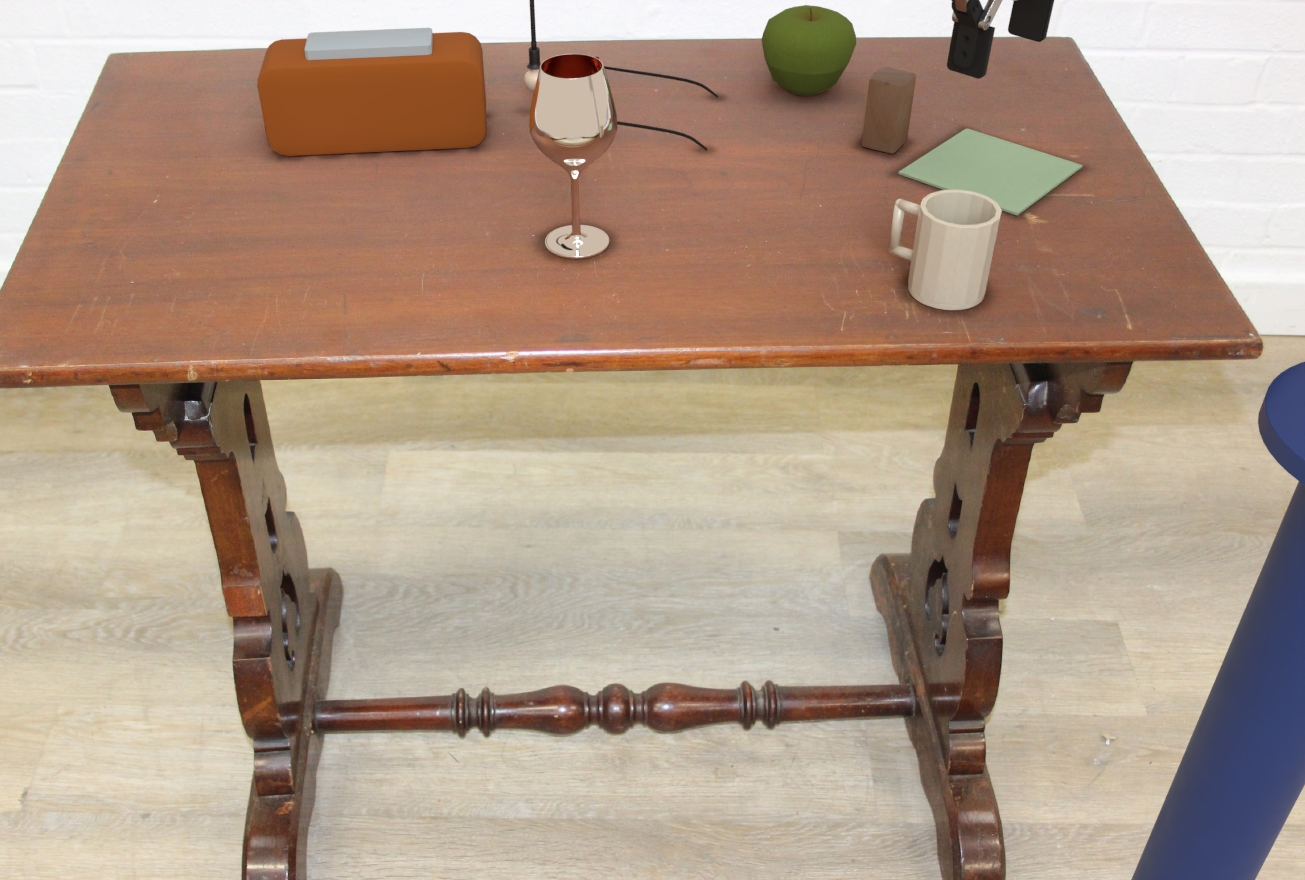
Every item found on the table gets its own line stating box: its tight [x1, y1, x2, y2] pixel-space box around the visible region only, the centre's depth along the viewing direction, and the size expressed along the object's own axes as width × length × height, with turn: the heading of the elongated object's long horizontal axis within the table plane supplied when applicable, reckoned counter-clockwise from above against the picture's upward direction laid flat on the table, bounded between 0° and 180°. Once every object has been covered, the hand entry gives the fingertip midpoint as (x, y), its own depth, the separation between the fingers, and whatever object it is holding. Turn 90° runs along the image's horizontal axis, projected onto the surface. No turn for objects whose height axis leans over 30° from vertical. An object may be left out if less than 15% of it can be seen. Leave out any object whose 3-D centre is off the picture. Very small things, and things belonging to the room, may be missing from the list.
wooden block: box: [861, 66, 917, 155], centre depth 144 cm, size 4×4×8 cm
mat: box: [898, 127, 1084, 217], centre depth 142 cm, size 14×14×1 cm
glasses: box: [594, 56, 719, 151], centre depth 152 cm, size 14×15×5 cm
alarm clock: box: [257, 27, 487, 157], centre depth 147 cm, size 24×8×11 cm, turn 94°
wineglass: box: [528, 53, 618, 260], centre depth 126 cm, size 8×8×18 cm
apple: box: [761, 4, 857, 97], centre depth 155 cm, size 11×10×10 cm
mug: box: [887, 189, 1003, 311], centre depth 122 cm, size 10×7×8 cm
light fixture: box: [523, 0, 542, 92], centre depth 148 cm, size 7×7×25 cm
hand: (996, 54), depth 107 cm, fingers open, 9 cm apart
